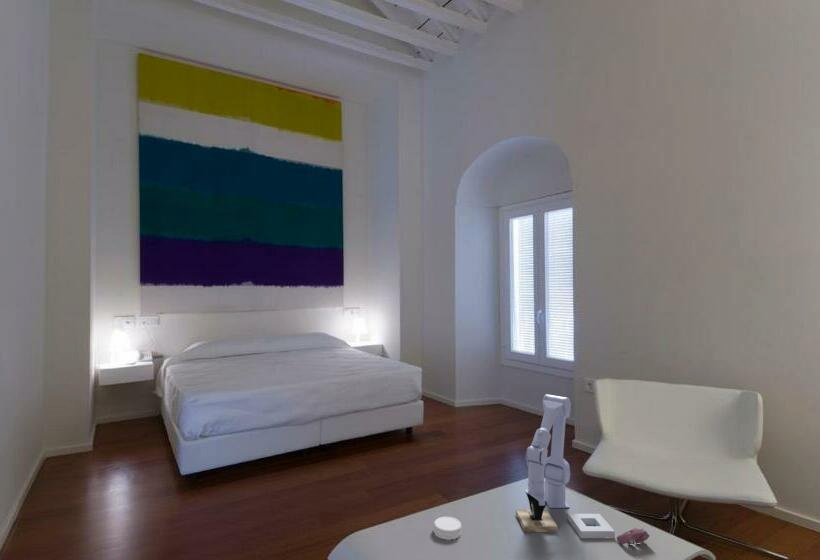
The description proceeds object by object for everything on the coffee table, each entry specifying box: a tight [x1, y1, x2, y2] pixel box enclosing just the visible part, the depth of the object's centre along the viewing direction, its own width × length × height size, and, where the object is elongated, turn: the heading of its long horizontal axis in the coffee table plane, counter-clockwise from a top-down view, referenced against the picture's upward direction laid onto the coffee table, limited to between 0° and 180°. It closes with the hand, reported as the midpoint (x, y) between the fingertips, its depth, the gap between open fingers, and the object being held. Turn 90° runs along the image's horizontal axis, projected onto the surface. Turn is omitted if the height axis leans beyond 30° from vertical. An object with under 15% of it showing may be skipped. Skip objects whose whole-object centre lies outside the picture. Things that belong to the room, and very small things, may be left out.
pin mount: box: [515, 509, 559, 533], centre depth 164 cm, size 12×12×2 cm
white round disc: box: [433, 516, 462, 541], centre depth 158 cm, size 10×10×4 cm
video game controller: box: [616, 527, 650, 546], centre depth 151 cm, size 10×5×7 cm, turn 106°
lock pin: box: [531, 503, 540, 521], centre depth 165 cm, size 4×4×7 cm
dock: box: [567, 513, 616, 539], centre depth 161 cm, size 12×12×2 cm
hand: (536, 515), depth 165 cm, fingers open, 4 cm apart
